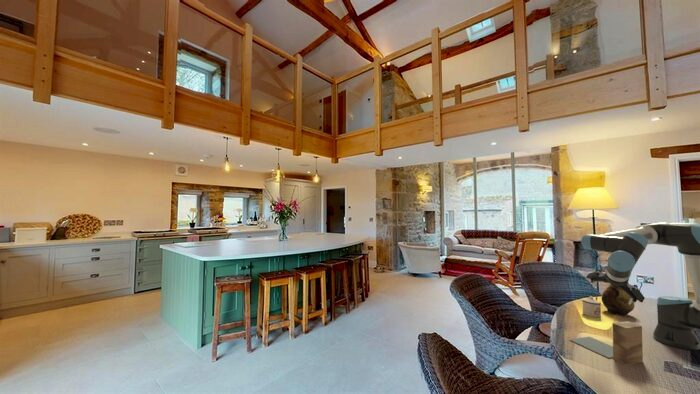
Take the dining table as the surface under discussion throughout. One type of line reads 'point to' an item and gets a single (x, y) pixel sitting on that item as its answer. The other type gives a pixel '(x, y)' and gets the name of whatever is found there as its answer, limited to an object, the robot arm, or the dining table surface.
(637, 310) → the dining table surface
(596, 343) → the slate mat
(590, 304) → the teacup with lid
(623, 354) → the walnut slab
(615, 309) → the ceramic jug
